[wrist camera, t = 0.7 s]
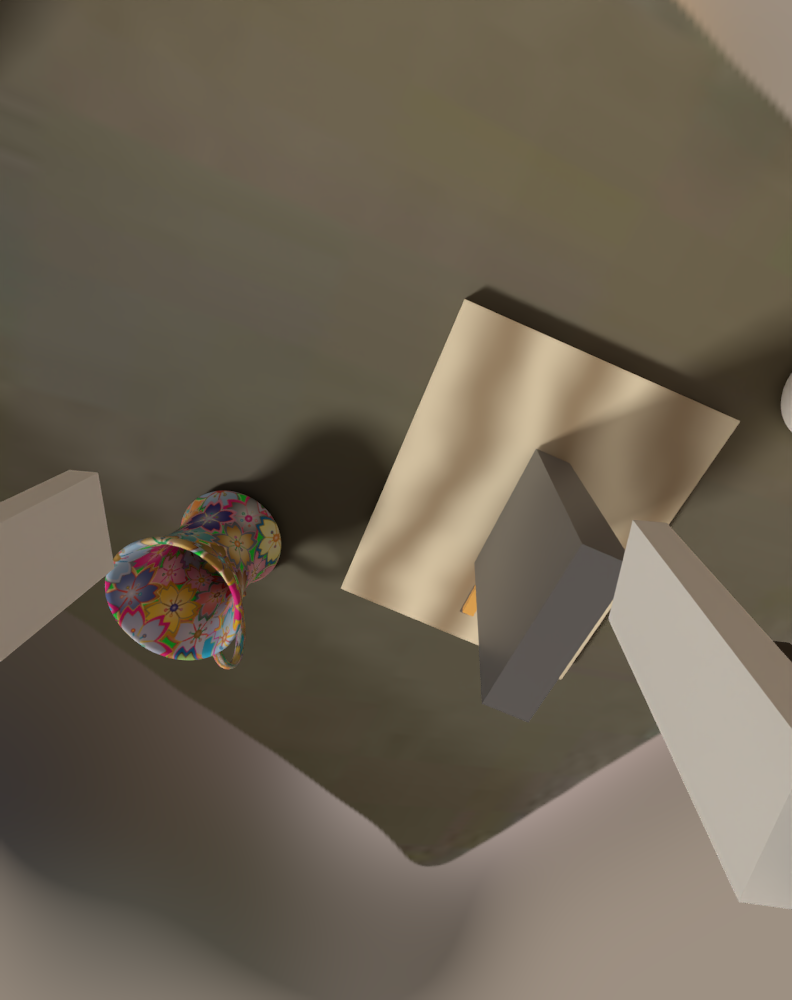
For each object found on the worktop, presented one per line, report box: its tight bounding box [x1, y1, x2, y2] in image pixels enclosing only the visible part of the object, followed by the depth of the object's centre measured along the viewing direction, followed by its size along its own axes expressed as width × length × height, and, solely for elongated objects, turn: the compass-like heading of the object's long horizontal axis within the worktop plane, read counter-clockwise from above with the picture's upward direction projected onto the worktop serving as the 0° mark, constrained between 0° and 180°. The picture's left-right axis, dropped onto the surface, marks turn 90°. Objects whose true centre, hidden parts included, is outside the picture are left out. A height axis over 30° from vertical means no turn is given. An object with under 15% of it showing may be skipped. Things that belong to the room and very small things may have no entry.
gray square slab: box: [463, 449, 625, 722], centre depth 33 cm, size 3×14×15 cm, turn 157°
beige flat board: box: [341, 299, 740, 679], centre depth 40 cm, size 20×24×2 cm
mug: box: [105, 490, 281, 669], centre depth 40 cm, size 12×9×11 cm
